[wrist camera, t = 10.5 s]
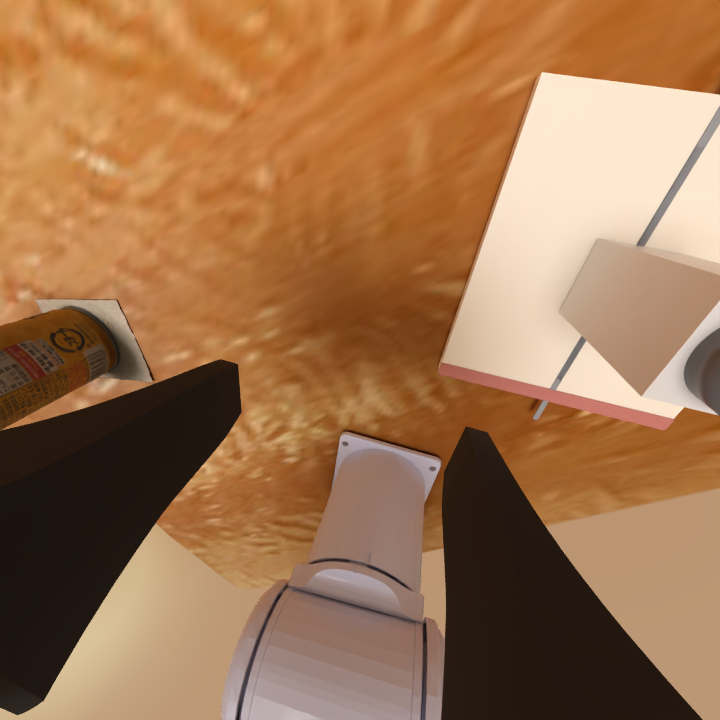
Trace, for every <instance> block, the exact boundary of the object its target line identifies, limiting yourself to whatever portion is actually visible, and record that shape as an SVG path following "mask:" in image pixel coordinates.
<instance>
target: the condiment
mask: <svg viewBox="0 0 720 720" xmlns="http://www.w3.org/2000/svg"><path fill="white" fill-rule="evenodd" d="M35 301H36V303H37V304H38V306H39V308H40V309H41V311H42V314H39V315H35V316H31V317H29V318H25V319H22V320H19V321H16V322H13V323H8V324H5V325H2V326H0V430H2V429H3V428H5V427H7V426H9V425H11V424H13V423H15V422H17V421H18V420H20V419H22V418H24V417H26V416H27V415H29V414H31V413H33V412H35V411H37V410H38V409H40V408H42V407H44V406H46V405H48V404H50V403H52V402H53V401H55V400H57V399H59V398H61V397H62V396H64V395H66V394H68V393H70V392H72V391H74V390H75V389H77V388H79V387H81V386H83V385H85V384H87V383H89V382H91V381H93V380H94V379H96V378H98V377H108V378H115V379H121V380H137V381H142V382H152V379H151V376H150V374H149V370H148V368H147V365H146V362H145V361H144V359H143V355H142V353H141V351H140V348H139V346H138V344H137V342H136V340H135V335H134V334H133V333H132V332H131V330H130V328H129V326H128V324H127V321H126V318H125V316H124V315H123V313H122V311H121V309H120V307H119V305H118V303H117V301H116V300H69V299H68V300H61V299H58V300H57V299H50V300H47V299H39V300H35ZM104 321H105V322H107V324H106V323H105V322H104ZM109 324H110V325H112V327H111V326H109Z"/></svg>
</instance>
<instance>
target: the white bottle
mask: <svg viewBox="0 0 720 720" xmlns="http://www.w3.org/2000/svg"><path fill="white" fill-rule="evenodd" d="M559 313H560V314H561V315H562V316H563V317H564V318H565V319H566V320H567V321H568V322H569V323H570V324H571V325H572V326H573V327H574V328H575V329H576V330H577V331H578V332H579V333H580V334H581V335H582V336H583V337H584V339H585V340H586V341H587V342H588V343H589V344H590V345H591V346H592V347H593V348H594V349H595V350H596V351H597V352H598V353H599V354H600V355H601V356H602V357H603V358H604V359H605V360H606V361H607V362H608V363H609V364H610V365H611V366H612V367H613V368H614V369H615V370H616V371H617V372H618V373H619V374H620V375H621V376H622V377H623V378H624V379H625V381H626V382H627V383H628V384H629V385H630V386H631V387H632V388H633V389H634V390H635V391H636V392H637V393H638V394H639V395H640V396H641V397H645V398H649V399H653V400H657V401H661V402H666V403H670V404H674V405H678V406H682V407H686V408H691V409H695V410H699V411H703V412H707V413H711V414H716V415H719V416H720V263H716V262H712V261H709V260H705V259H701V258H697V257H693V256H690V255H686V254H681V253H675V252H670V251H664V250H659V249H654V248H648V247H643V246H638V245H632V244H627V243H621V242H616V241H611V240H605V239H600V238H598V240H597V242H596V243H595V245H594V247H593V249H592V251H591V253H590V255H589V256H588V258H587V260H586V262H585V264H584V266H583V268H582V270H581V271H580V273H579V275H578V277H577V279H576V281H575V283H574V285H573V286H572V288H571V290H570V292H569V294H568V296H567V298H566V300H565V301H564V303H563V305H562V307H561V309H560V311H559Z"/></svg>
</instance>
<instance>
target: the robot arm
mask: <svg viewBox="0 0 720 720" xmlns="http://www.w3.org/2000/svg"><path fill="white" fill-rule="evenodd" d="M240 414H241V399H240V385H239V372H238V364H236V363H232V362H228V361H225V360H221V359H220V360H217V361H214V362H211V363H208V364H205V365H202V366H200V367H197V368H195V369H192V370H189V371H187V372H184V373H182V374H179V375H177V376H174V377H171V378H169V379H166V380H164V381H161V382H158V383H156V384H153V385H151V386H148V387H145V388H143V389H140V390H137V391H134V392H131V393H128V394H125V395H123V396H120V397H117V398H114V399H111V400H108V401H105V402H102V403H100V404H96V405H93V406H90V407H87V408H84V409H81V410H77V411H74V412H71V413H67V414H64V415H60V416H57V417H53V418H49V419H46V420H42V421H39V422H35V423H31V424H27V425H23V426H19V427H14V428H10V429H6V430H2V431H0V708H2V709H5V710H7V711H9V712H12V713H14V714H16V715H19V714H22V713H24V712H26V711H28V710H30V709H32V708H34V707H35V706H37V705H38V704H40V703H41V702H42V701H44V699H45V698H46V696H47V694H48V692H49V690H50V689H51V687H52V685H53V683H54V681H55V680H56V678H57V676H58V675H59V673H60V671H61V670H62V668H63V666H64V665H65V663H66V661H67V659H68V658H69V656H70V655H71V653H72V651H73V649H74V648H75V646H76V644H77V642H78V641H79V639H80V638H81V636H82V634H83V632H84V631H85V629H86V627H87V626H88V624H89V623H90V621H91V620H92V618H93V616H94V615H95V613H96V612H97V610H98V609H99V607H100V605H101V604H102V602H103V600H104V599H105V598H106V596H107V594H108V593H109V591H110V590H111V588H112V586H113V585H114V583H115V582H116V580H117V579H118V577H119V576H120V574H121V573H122V571H123V570H124V568H125V567H126V565H127V564H128V562H129V561H130V559H131V558H132V556H133V555H134V553H135V552H136V550H137V549H138V547H139V546H140V545H141V543H142V542H143V540H144V539H145V537H146V536H147V535H148V533H149V532H150V530H151V529H152V527H153V526H154V525H155V523H156V522H157V520H158V519H159V518H160V516H161V515H162V513H163V512H164V511H165V510H166V508H167V507H168V506H169V504H170V503H171V502H172V501H173V499H174V498H175V497H176V496H177V495H178V493H179V492H180V491H181V490H182V489H183V488H184V486H185V485H186V484H187V483H188V482H189V480H190V479H191V478H192V477H193V476H194V475H195V473H196V472H197V471H198V470H199V469H200V468H201V466H202V465H203V464H204V463H205V462H206V460H207V459H208V458H209V457H210V456H211V454H212V453H213V452H214V451H215V450H216V448H217V447H218V446H219V445H220V444H221V442H222V441H223V440H224V439H225V437H226V436H227V434H228V433H229V431H230V430H231V428H232V427H233V425H234V424H235V422H236V420H237V419H238V417H239V415H240ZM344 441H345V442H344ZM346 442H347V443H346ZM440 467H441V460H440V459H439V458H438V457H435V456H432V455H428V454H425V453H421V452H417V451H414V450H410V449H407V448H403V447H400V446H396V445H393V444H389V443H386V442H382V441H378V440H375V439H371V438H368V437H364V436H361V435H357V434H354V433H350V432H343V433H342V434H341V436H340V441H339V447H338V453H337V460H336V466H335V472H334V478H333V484H332V491H331V494H330V497H329V499H328V502H327V505H326V508H325V511H324V513H323V516H322V519H321V522H320V525H319V527H318V530H317V533H316V536H315V538H314V541H313V544H312V547H311V550H310V552H309V555H308V558H307V561H306V564H302V563H296V565H295V568H294V570H293V573H292V576H291V578H290V581H289V580H286V579H283V580H279V581H278V582H276V583H275V584H274V585H273V586H272V587H271V588H270V589H269V590H268V591H266V592H265V593H264V594H263V596H262V597H261V598H260V599H259V601H258V602H257V604H256V605H255V607H254V609H253V611H252V612H251V614H250V616H249V618H248V620H247V622H246V625H245V627H244V629H243V631H242V633H241V636H240V638H239V641H238V644H237V646H236V649H235V652H234V654H233V657H232V661H231V664H230V667H229V671H228V674H227V678H226V682H225V687H224V692H223V699H222V718H221V720H702V719H701V718H700V716H699V715H698V714H697V713H696V712H695V711H694V710H693V709H692V707H691V706H690V705H689V704H688V703H687V702H686V701H685V700H684V699H683V698H682V696H681V695H680V694H679V693H678V692H677V691H676V690H675V689H674V687H673V686H672V685H671V684H670V683H669V682H668V681H667V679H666V678H665V677H664V676H663V675H662V674H661V672H660V671H659V670H658V669H657V668H656V667H655V665H654V664H653V663H652V662H651V661H650V660H649V659H648V657H647V656H646V655H645V654H644V653H643V651H642V650H641V649H640V648H639V647H638V646H637V645H636V643H635V642H634V641H633V640H632V639H631V637H630V636H629V635H628V634H627V633H626V632H625V631H624V629H623V628H622V627H621V626H620V624H619V623H618V622H617V621H616V620H615V618H614V617H613V616H612V615H611V613H610V612H609V611H608V610H607V609H606V607H605V606H604V605H603V604H602V602H601V601H600V600H599V598H598V597H597V596H596V595H595V593H594V592H593V591H592V589H591V588H590V587H589V585H588V584H587V583H586V582H585V580H584V579H583V578H582V577H581V575H580V574H579V573H578V571H577V570H576V569H575V567H574V566H573V565H572V563H571V562H570V561H569V559H568V558H567V557H566V555H565V554H564V552H563V551H562V550H561V548H560V547H559V545H558V544H557V542H556V541H555V540H554V538H553V537H552V535H551V534H550V533H549V531H548V530H547V528H546V527H545V525H544V524H543V522H542V521H541V519H540V518H539V516H538V515H537V513H536V512H535V510H534V509H533V507H532V506H531V504H530V502H529V501H528V499H527V498H526V496H525V495H524V493H523V491H522V490H521V488H520V487H519V485H518V483H517V482H516V480H515V478H514V477H513V475H512V473H511V472H510V470H509V468H508V467H507V465H506V463H505V462H504V460H503V458H502V457H501V455H500V453H499V451H498V450H497V448H496V446H495V445H494V443H493V441H492V439H491V438H490V436H489V434H488V433H487V432H484V431H480V430H477V429H473V428H469V427H466V428H465V430H464V432H463V434H462V436H461V438H460V440H459V442H458V444H457V446H456V448H455V450H454V452H453V455H452V457H451V459H450V461H449V463H448V465H447V467H446V469H445V471H444V482H443V495H442V520H443V542H444V562H445V583H446V628H445V638H444V636H443V635H442V633H441V632H440V630H439V629H438V626H437V623H436V622H435V620H433V619H430V618H426V617H425V619H424V621H423V607H424V596H423V595H422V594H420V585H421V584H420V582H421V564H422V543H423V522H424V503H425V501H426V499H427V497H428V494H429V492H430V490H431V487H432V485H433V483H434V481H435V478H436V476H437V474H438V471H439V469H440Z"/></svg>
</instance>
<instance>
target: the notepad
mask: <svg viewBox="0 0 720 720" xmlns="http://www.w3.org/2000/svg"><path fill="white" fill-rule="evenodd" d="M598 238H600V239H605V240H611V241H616V242H621V243H627V244H632V245H638V246H643V247H648V248H654V249H659V250H664V251H670V252H675V253H681V254H686V255H690V256H693V257H697V258H701V259H705V260H709V261H712V262H716V263H720V95H718V94H710V93H702V92H694V91H686V90H678V89H670V88H662V87H654V86H646V85H638V84H630V83H622V82H614V81H606V80H598V79H590V78H582V77H574V76H566V75H559V74H551V73H543V72H542V73H541V74H540V75H539V76H538V78H537V79H536V81H535V84H534V87H533V90H532V93H531V96H530V99H529V102H528V105H527V108H526V110H525V113H524V116H523V119H522V122H521V125H520V128H519V131H518V134H517V137H516V140H515V143H514V146H513V149H512V151H511V154H510V157H509V160H508V163H507V166H506V169H505V172H504V175H503V178H502V181H501V184H500V187H499V190H498V193H497V195H496V198H495V201H494V204H493V207H492V210H491V213H490V216H489V219H488V222H487V225H486V228H485V231H484V234H483V236H482V239H481V242H480V245H479V248H478V251H477V254H476V257H475V260H474V263H473V266H472V269H471V272H470V275H469V277H468V280H467V283H466V286H465V289H464V292H463V295H462V298H461V301H460V304H459V307H458V310H457V313H456V316H455V319H454V321H453V324H452V327H451V330H450V333H449V336H448V339H447V342H446V345H445V348H444V351H443V354H442V357H441V360H440V362H439V365H438V374H440V375H444V376H448V377H452V378H456V379H460V380H464V381H468V382H472V383H476V384H480V385H484V386H488V387H492V388H496V389H500V390H504V391H508V392H512V393H516V394H520V395H524V396H528V397H532V398H536V399H540V400H543V401H542V403H541V404H540V406H539V408H538V409H537V411H536V413H535V414H534V416H533V418H532V419H536V420H538V418H539V417H540V415H541V413H542V412H543V410H544V409H545V407H546V405H547V404H548V402H552V403H556V404H560V405H564V406H568V407H572V408H576V409H580V410H584V411H589V412H593V413H597V414H601V415H605V416H609V417H613V418H617V419H621V420H625V421H629V422H633V423H637V424H641V425H645V426H649V427H653V428H657V429H661V430H666V429H667V428H668V426H669V425H670V424H671V423H672V422H673V421H674V418H675V417H676V415H677V414H678V413H679V412H680V411H681V410H682V409H683V408H684V407H682V406H678V405H674V404H670V403H666V402H661V401H657V400H653V399H649V398H645V397H641V396H640V395H639V394H638V393H637V392H636V391H635V390H634V389H633V388H632V387H631V386H630V385H629V384H628V383H627V382H626V381H625V379H624V378H623V377H622V376H621V375H620V374H619V373H618V372H617V371H616V370H615V369H614V368H613V367H612V366H611V365H610V364H609V363H608V362H607V361H606V360H605V359H604V358H603V357H602V356H601V355H600V354H599V353H598V352H597V351H596V350H595V349H594V348H593V347H592V346H591V345H590V344H589V343H588V342H587V341H586V340H585V339H584V337H583V336H582V335H581V334H580V333H579V332H578V331H577V330H576V329H575V328H574V327H573V326H572V325H571V324H570V323H569V322H568V321H567V320H566V319H565V318H564V317H563V316H562V315H561V314H560V313H559V311H560V309H561V307H562V305H563V303H564V301H565V300H566V298H567V296H568V294H569V292H570V290H571V288H572V286H573V285H574V283H575V281H576V279H577V277H578V275H579V273H580V271H581V270H582V268H583V266H584V264H585V262H586V260H587V258H588V256H589V255H590V253H591V251H592V249H593V247H594V245H595V243H596V242H597V240H598Z"/></svg>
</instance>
